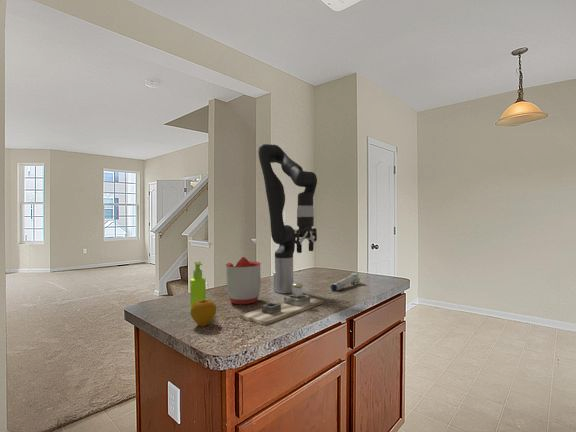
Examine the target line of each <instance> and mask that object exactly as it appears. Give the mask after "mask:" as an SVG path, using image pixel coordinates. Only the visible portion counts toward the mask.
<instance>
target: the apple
mask: <svg viewBox="0 0 576 432" xmlns="http://www.w3.org/2000/svg"><path fill="white" fill-rule="evenodd" d="M216 313H217V306H216V304H215V302H213V301H211V300H209V299H206V300H200V301H197V302H195V303H194V305H193V306H192V308H191V307H190V316H191V318H192V320H193V321H194V322H195V324H197V326H199V327H205V326H208V325H209V324H210V323H211V322H212V320H213V319H214V318H215V316H216Z"/></svg>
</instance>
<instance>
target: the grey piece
mask: <svg viewBox="0 0 576 432" xmlns="http://www.w3.org/2000/svg"><path fill="white" fill-rule="evenodd" d="M360 280H361V278H360V277H359V274H358V272H351V274H350V275H349V276H346V277H344V278H342V279H340V280H337V281H335V282H334V283H332V284H331V285H330V290H331V291H332V292H335V291H336V292H338V291H341V290H342V289H343V288H344V287H345V286H347V285H349V284H350V285H353V286H357V285H360V283H361V281H360Z"/></svg>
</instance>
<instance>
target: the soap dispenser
mask: <svg viewBox="0 0 576 432" xmlns="http://www.w3.org/2000/svg"><path fill="white" fill-rule="evenodd" d="M194 265H195V268H194V270H193V272H192V273H193V275H192V278H190V280H189V286H190V288H189V289H190V291H189V292H190V309H191V308H192V306H193V305H194V303H195V302H197V301H200V300H207V297H206V294H207V293H206V278H205V277H203V270H202V269H200V268H201V266H203V264H202V262H201V261H195V262H194Z"/></svg>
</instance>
